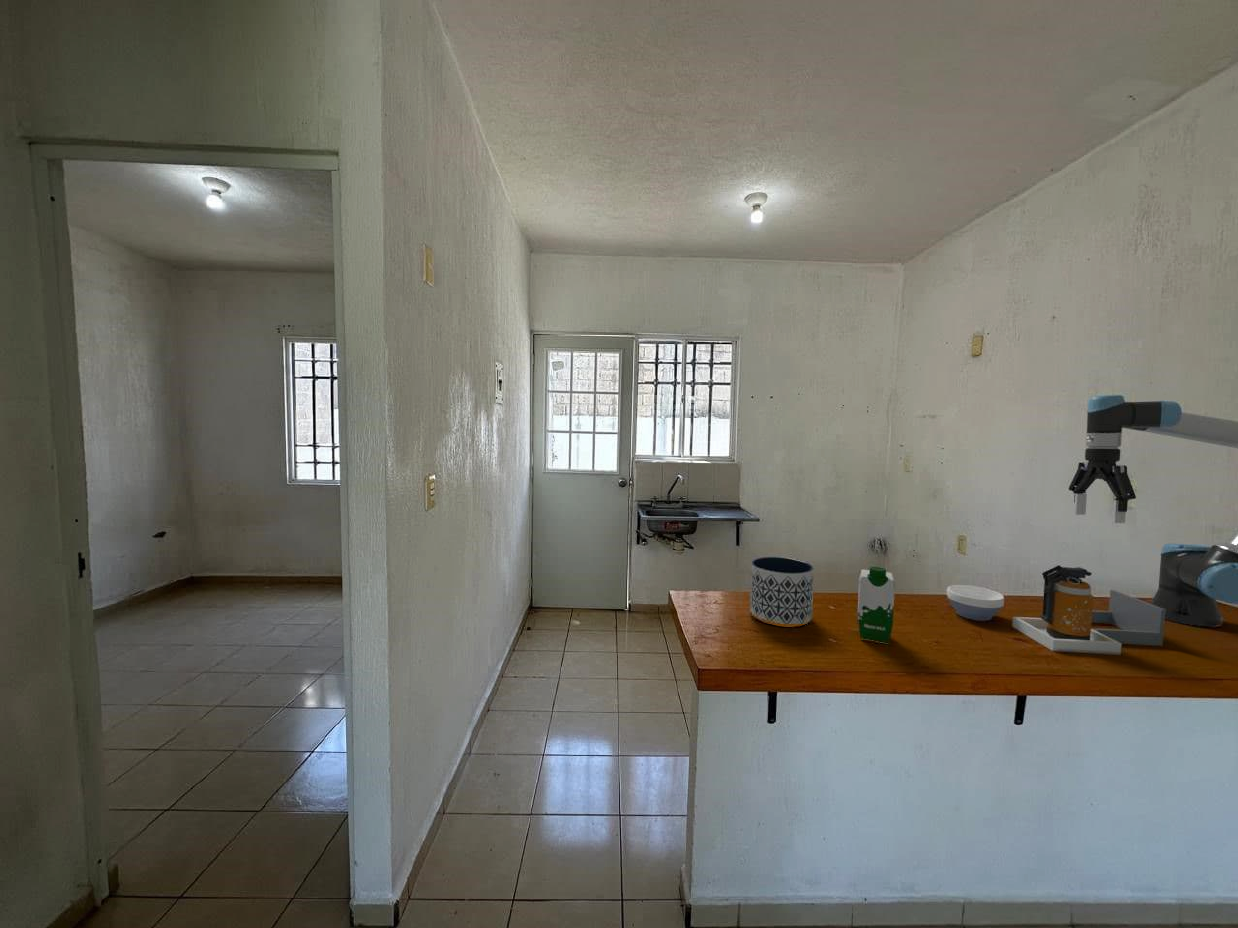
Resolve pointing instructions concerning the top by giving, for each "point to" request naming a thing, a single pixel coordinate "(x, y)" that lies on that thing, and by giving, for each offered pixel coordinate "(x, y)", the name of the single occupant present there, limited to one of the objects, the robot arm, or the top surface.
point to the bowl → (975, 602)
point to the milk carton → (876, 604)
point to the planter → (781, 590)
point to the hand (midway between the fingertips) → (1098, 518)
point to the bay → (1131, 620)
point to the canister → (1067, 603)
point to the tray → (1038, 632)
